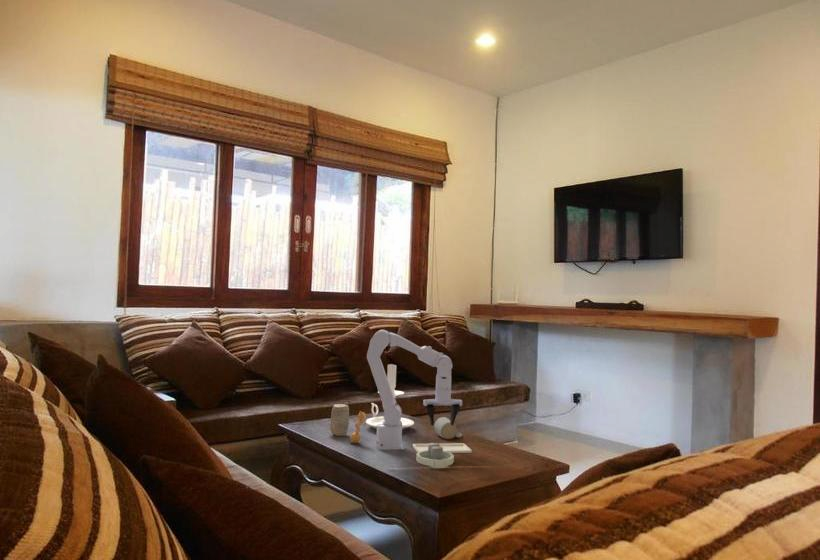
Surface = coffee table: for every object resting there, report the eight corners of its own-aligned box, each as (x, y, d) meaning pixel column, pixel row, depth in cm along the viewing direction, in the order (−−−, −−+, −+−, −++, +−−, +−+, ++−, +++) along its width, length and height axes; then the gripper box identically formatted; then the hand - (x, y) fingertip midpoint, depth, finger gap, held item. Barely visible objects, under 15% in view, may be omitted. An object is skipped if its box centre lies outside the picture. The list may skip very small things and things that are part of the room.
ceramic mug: (440, 440, 227) (441, 421, 227) (433, 435, 234) (434, 416, 235) (465, 440, 230) (466, 421, 230) (457, 435, 238) (458, 416, 238)
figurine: (345, 441, 221) (346, 409, 221) (358, 439, 224) (360, 408, 224) (355, 446, 214) (357, 414, 214) (369, 444, 217) (371, 412, 218)
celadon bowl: (420, 468, 190) (421, 460, 190) (413, 457, 202) (413, 450, 202) (457, 467, 192) (457, 459, 192) (447, 456, 204) (448, 449, 205)
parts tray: (418, 455, 205) (418, 451, 205) (412, 447, 215) (412, 443, 215) (471, 454, 209) (471, 450, 209) (463, 446, 219) (463, 443, 219)
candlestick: (389, 419, 260) (392, 358, 261) (423, 431, 241) (426, 365, 241) (351, 424, 248) (353, 360, 249) (383, 437, 228) (386, 367, 229)
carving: (350, 436, 228) (352, 406, 229) (332, 437, 225) (333, 407, 225) (345, 432, 234) (347, 403, 234) (328, 433, 231) (329, 404, 231)
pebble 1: (428, 460, 197) (429, 445, 197) (426, 457, 201) (427, 442, 201) (440, 460, 198) (440, 445, 198) (437, 457, 202) (438, 442, 202)
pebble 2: (431, 464, 193) (432, 449, 193) (429, 460, 197) (430, 446, 197) (443, 464, 193) (443, 449, 193) (441, 460, 197) (441, 446, 197)
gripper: (426, 390, 208) (425, 427, 208) (465, 390, 211) (463, 427, 211) (422, 386, 215) (421, 423, 215) (459, 387, 218) (458, 422, 218)
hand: (442, 424), depth 213 cm, fingers open, 7 cm apart
